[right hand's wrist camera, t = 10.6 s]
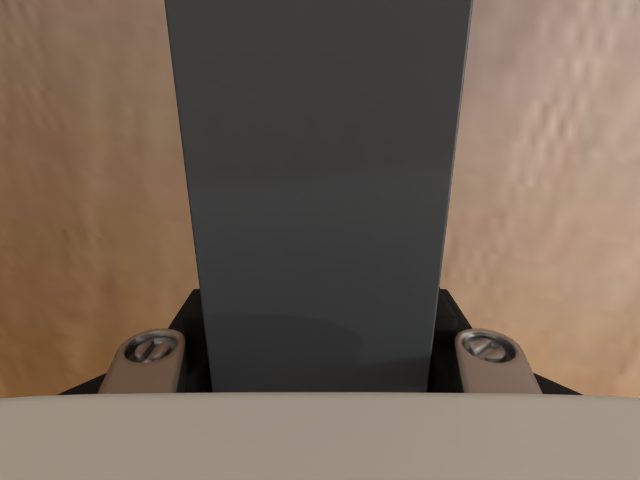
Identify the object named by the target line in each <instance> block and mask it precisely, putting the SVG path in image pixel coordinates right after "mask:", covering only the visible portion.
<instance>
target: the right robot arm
mask: <svg viewBox="0 0 640 480" xmlns="http://www.w3.org/2000/svg"><path fill="white" fill-rule="evenodd" d="M0 480H640V399H639V398H627V397H612V396H592V395H582V394H580V393H578V392H575V391H573V390H571V389H569V388H566V387H564V386H562V385H560V384H557V383H555V382H553V381H551V380H548V379H546V378H544V377H542V376H539V375H537V374H535V373H533V372H532V369H531V367H530V365H529V363H528V361H527V358H526V356H525V354H524V352H523V350H522V349H521V347H520V346H519V344H517V343H516V342H515V341H514V340H512V339H511V338H509V337H507V336H505V335H503V334H501V333H498V332H495V331H491V330H486V329H472V327H471V326H470V324H469V322H468V321H467V319H466V318H465V316H464V315H463V313H462V312H461V310H460V309H459V307H458V306H457V304H456V302H455V301H454V299H453V298H452V296H451V295H450V293H449V292H448V291H447V290H446V289H440V287H439V293H438V302H437V310H436V319H435V327H434V336H433V344H432V352H431V361H430V369H429V378H428V386H427V393H401V392H225V393H213V392H212V384H211V376H210V368H209V359H208V351H207V343H206V335H205V327H204V319H203V311H202V302H201V294H200V289H194V290H193V291H192V292H191V294H190V295H189V297H188V298H187V300H186V302H185V303H184V305H183V306H182V308H181V309H180V311H179V312H178V314H177V315H176V317H175V318H174V320H173V321H172V323H171V325H170V326H169V328H168V329H154V330H149V331H145V332H142V333H139V334H137V335H135V336H133V337H131V338H129V339H128V340H126V341H125V342H124V343H123V344H121V346H120V347H119V349H118V350H117V352H116V354H115V356H114V358H113V361H112V363H111V365H110V367H109V369H108V372H107V373H106V374H103V375H101V376H99V377H96V378H94V379H92V380H90V381H87V382H85V383H83V384H81V385H78V386H76V387H74V388H72V389H69V390H67V391H65V392H63V393H60V394H58V395H51V396H28V397H14V398H1V399H0Z"/></svg>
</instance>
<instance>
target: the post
mask: <svg viewBox="0 0 640 480" xmlns="http://www.w3.org/2000/svg"><path fill="white" fill-rule="evenodd" d="M164 1H165V9H166V17H167V26H168V34H169V42H170V50H171V58H172V66H173V74H174V83H175V91H176V99H177V107H178V115H179V123H180V131H181V140H182V148H183V156H184V164H185V172H186V180H187V188H188V197H189V205H190V213H191V221H192V229H193V237H194V245H195V254H196V262H197V270H198V278H199V286H200V294H201V302H202V311H203V319H204V327H205V335H206V343H207V351H208V359H209V368H210V376H211V384H212V392H213V393H225V392H401V393H427V386H428V378H429V369H430V361H431V352H432V344H433V336H434V327H435V319H436V310H437V302H438V293H439V285H440V276H441V268H442V260H443V251H444V243H445V234H446V226H447V217H448V209H449V200H450V192H451V184H452V175H453V167H454V158H455V150H456V141H457V133H458V124H459V116H460V108H461V99H462V91H463V82H464V74H465V65H466V57H467V48H468V40H469V32H470V23H471V15H472V6H473V0H164Z"/></svg>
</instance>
